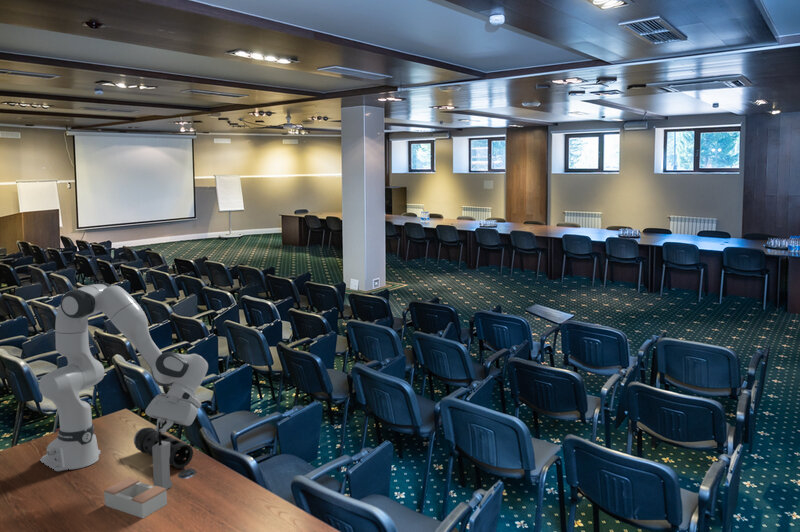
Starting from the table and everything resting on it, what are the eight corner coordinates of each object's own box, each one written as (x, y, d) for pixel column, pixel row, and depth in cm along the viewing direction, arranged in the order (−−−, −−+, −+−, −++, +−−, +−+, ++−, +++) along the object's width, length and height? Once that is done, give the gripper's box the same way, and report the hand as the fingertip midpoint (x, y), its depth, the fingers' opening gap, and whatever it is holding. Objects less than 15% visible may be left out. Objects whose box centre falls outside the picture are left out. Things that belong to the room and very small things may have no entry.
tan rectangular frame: (105, 505, 208) (104, 489, 207) (129, 492, 217) (128, 477, 216) (143, 518, 200) (142, 502, 199) (167, 504, 209) (166, 488, 208)
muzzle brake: (172, 474, 230) (171, 448, 229) (132, 454, 247) (131, 430, 246) (194, 465, 238) (193, 440, 236) (154, 447, 255) (153, 423, 253)
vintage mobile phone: (172, 486, 221) (169, 419, 217) (162, 493, 216) (159, 424, 213) (163, 484, 222) (160, 418, 219) (154, 491, 217) (150, 423, 214)
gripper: (153, 388, 225) (133, 422, 218) (195, 396, 216) (175, 433, 209) (163, 396, 230) (143, 430, 222) (205, 405, 221) (185, 441, 213)
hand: (159, 431), depth 216 cm, fingers closed on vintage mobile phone
